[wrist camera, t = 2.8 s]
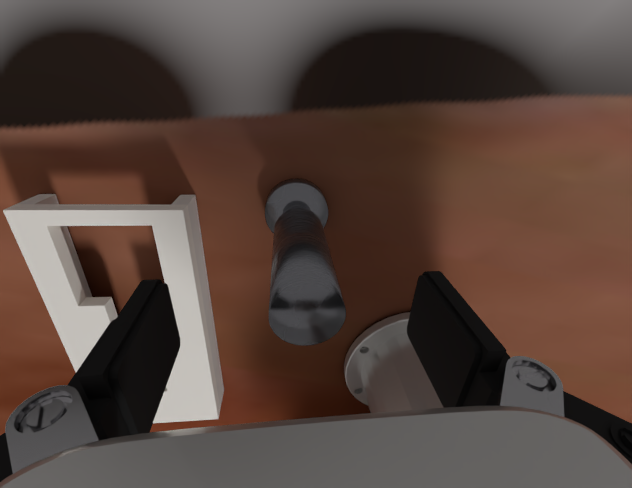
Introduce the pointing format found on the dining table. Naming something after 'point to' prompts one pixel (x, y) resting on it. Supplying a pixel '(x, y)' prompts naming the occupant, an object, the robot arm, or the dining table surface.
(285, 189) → the peg
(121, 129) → the dining table surface
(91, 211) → the keyhole plate
